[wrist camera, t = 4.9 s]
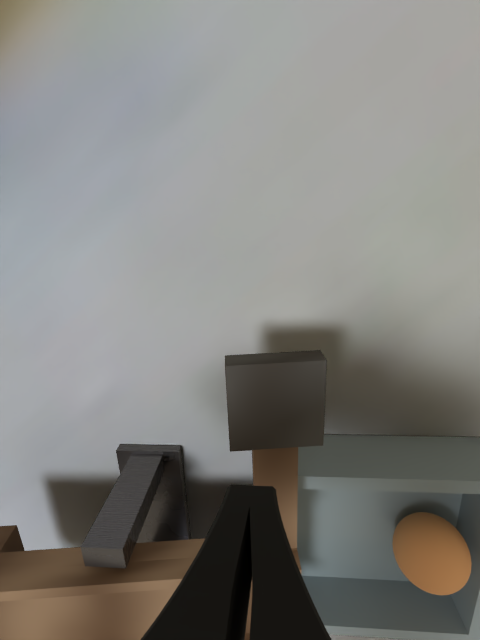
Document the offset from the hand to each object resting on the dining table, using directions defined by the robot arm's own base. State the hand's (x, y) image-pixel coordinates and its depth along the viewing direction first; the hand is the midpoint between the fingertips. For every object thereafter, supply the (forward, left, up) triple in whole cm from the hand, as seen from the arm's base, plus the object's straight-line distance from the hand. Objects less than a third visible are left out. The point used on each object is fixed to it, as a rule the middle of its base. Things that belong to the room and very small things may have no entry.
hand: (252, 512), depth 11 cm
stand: (-11, +7, -10) cm, 17 cm away
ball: (-11, -10, -8) cm, 16 cm away
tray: (-11, -7, -10) cm, 16 cm away
